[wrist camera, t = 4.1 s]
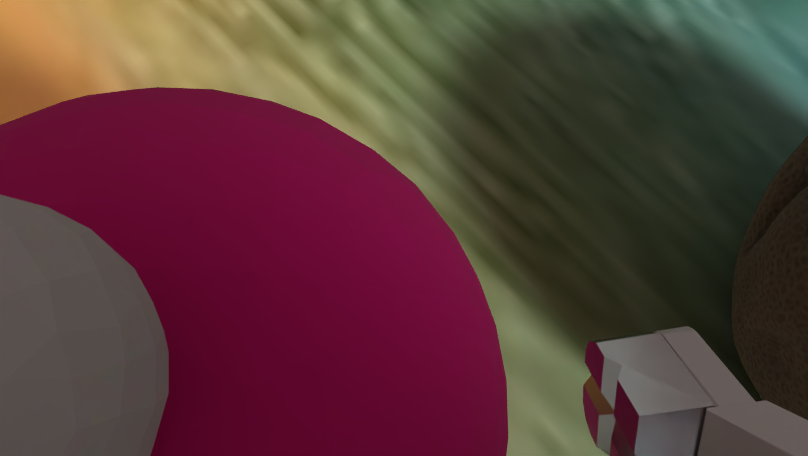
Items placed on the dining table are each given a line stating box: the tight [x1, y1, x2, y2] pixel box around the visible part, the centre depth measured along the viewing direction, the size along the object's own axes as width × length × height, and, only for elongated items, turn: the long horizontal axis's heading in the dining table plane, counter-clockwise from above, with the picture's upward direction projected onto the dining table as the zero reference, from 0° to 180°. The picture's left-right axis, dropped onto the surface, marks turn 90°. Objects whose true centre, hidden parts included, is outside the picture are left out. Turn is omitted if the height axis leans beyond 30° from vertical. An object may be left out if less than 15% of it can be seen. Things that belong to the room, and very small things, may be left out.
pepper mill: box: [0, 87, 508, 456], centre depth 11 cm, size 7×7×20 cm
